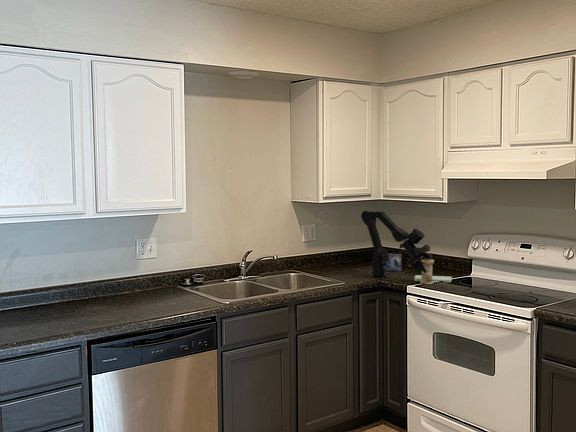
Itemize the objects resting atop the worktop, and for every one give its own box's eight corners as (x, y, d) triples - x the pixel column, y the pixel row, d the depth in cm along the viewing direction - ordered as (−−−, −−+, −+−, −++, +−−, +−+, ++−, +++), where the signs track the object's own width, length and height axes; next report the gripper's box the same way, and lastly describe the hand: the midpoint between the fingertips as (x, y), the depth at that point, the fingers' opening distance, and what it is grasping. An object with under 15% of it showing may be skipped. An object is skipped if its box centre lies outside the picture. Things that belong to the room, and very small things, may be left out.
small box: (383, 271, 366) (383, 254, 366) (384, 270, 373) (384, 253, 372) (401, 272, 364) (401, 255, 363) (401, 270, 370) (401, 253, 370)
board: (414, 280, 335) (414, 278, 334) (415, 277, 346) (415, 275, 346) (451, 282, 329) (451, 280, 329) (451, 278, 341) (451, 276, 341)
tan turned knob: (419, 284, 324) (420, 260, 324) (420, 281, 331) (420, 258, 330) (433, 284, 322) (433, 261, 322) (433, 282, 329) (434, 259, 328)
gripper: (411, 241, 321) (429, 264, 314) (429, 238, 335) (447, 260, 328) (399, 254, 327) (416, 277, 320) (417, 251, 341) (434, 272, 334)
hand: (429, 271), depth 325 cm, fingers closed on tan turned knob, 6 cm apart
